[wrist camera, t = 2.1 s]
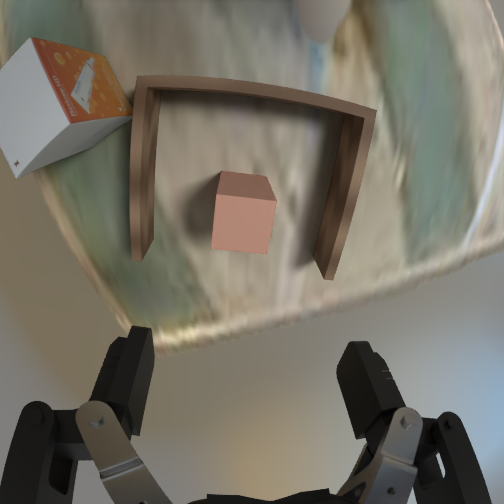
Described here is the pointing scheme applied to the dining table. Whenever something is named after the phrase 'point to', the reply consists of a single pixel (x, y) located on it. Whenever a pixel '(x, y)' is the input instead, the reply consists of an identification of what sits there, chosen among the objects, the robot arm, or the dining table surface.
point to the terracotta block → (243, 213)
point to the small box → (56, 104)
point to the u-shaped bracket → (355, 116)
